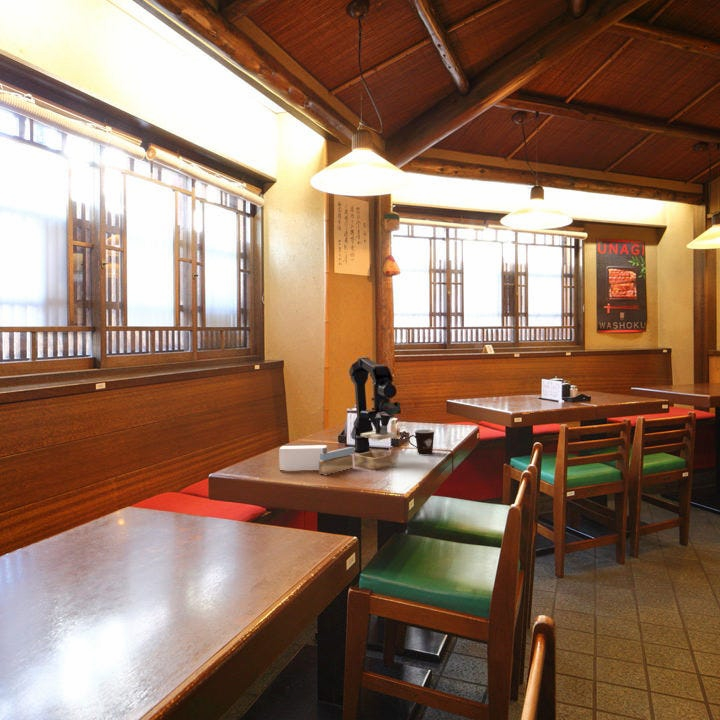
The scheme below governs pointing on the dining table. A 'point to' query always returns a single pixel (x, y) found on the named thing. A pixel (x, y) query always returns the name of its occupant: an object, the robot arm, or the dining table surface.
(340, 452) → the block
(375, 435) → the lid
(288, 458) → the white rectangular block
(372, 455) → the toolbox
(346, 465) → the tan rectangular bar
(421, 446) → the coffee mug
